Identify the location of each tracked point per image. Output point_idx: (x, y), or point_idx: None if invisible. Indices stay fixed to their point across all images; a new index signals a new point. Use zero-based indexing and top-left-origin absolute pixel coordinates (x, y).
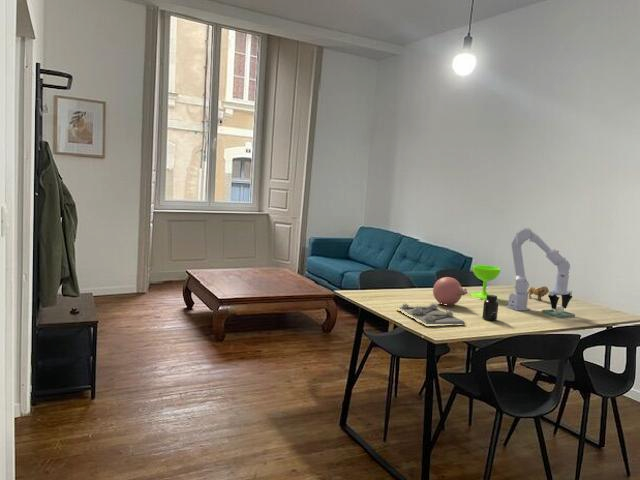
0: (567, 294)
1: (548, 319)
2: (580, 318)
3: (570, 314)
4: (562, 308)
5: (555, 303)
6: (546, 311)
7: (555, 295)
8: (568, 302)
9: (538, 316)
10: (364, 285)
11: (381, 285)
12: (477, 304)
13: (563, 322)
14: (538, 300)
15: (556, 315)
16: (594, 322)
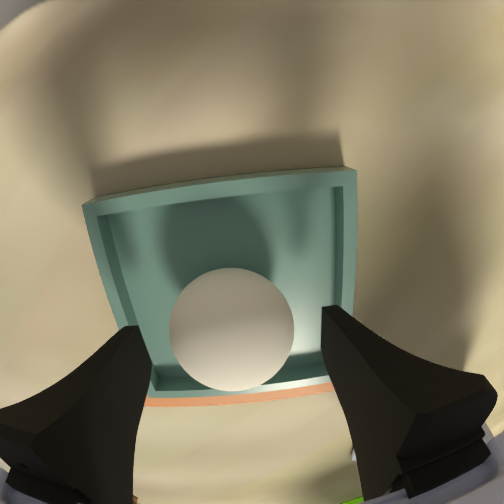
0: (58, 499)
1: (477, 157)
2: (74, 137)
3: (148, 200)
4: (223, 296)
5: (389, 343)
6: None
7: (437, 470)
8: (75, 371)
9: (474, 253)
10: None
11: None
12: None
13: (422, 37)
14: (135, 498)
15: (352, 214)
16: (59, 5)
